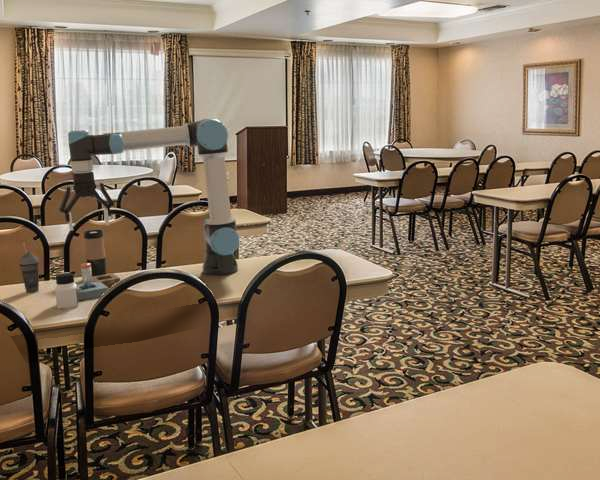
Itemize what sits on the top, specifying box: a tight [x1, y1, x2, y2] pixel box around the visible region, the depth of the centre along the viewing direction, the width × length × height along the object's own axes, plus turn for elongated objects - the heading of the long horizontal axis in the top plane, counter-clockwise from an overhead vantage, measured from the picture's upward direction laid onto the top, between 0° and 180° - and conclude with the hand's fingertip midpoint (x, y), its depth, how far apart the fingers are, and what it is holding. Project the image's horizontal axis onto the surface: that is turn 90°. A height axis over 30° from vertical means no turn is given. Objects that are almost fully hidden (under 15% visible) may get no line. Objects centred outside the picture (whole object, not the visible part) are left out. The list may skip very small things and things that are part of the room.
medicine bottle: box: [54, 271, 79, 310], centre depth 227 cm, size 7×7×12 cm
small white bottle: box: [80, 262, 93, 290], centre depth 240 cm, size 4×4×12 cm
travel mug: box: [83, 229, 107, 277], centre depth 265 cm, size 8×8×20 cm
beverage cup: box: [18, 241, 40, 294], centre depth 246 cm, size 7×7×20 cm
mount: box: [92, 273, 121, 288], centre depth 254 cm, size 10×10×3 cm
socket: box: [76, 281, 109, 302], centre depth 241 cm, size 12×12×3 cm
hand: (89, 227), depth 240 cm, fingers open, 13 cm apart
